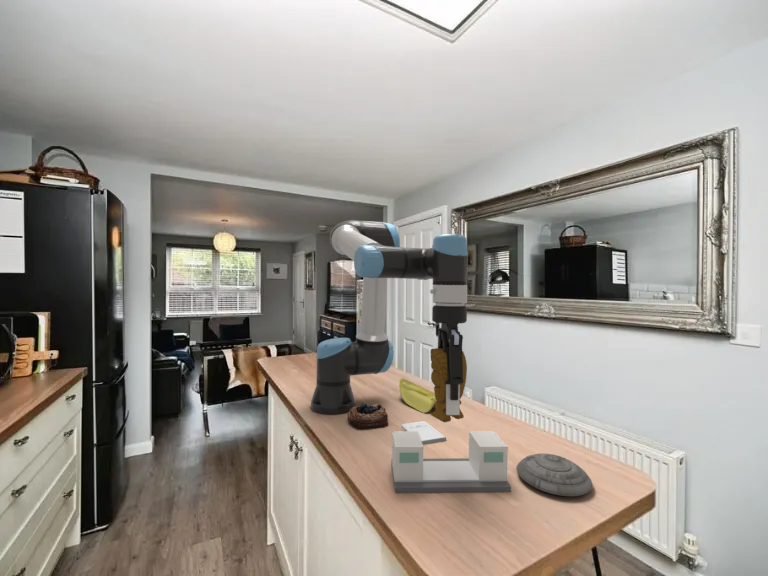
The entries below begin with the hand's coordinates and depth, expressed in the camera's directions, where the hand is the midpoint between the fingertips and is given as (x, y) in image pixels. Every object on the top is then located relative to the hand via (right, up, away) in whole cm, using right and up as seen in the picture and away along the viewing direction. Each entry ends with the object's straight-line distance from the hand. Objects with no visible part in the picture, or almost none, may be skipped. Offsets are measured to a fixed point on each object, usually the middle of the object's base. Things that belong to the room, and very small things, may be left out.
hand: (448, 407), depth 78 cm
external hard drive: (-3, -16, +23) cm, 28 cm away
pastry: (-19, -15, +31) cm, 39 cm away
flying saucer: (+23, -16, -1) cm, 28 cm away
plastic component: (0, -16, +49) cm, 52 cm away
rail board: (0, -15, 0) cm, 15 cm away
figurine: (0, -2, 0) cm, 2 cm away
